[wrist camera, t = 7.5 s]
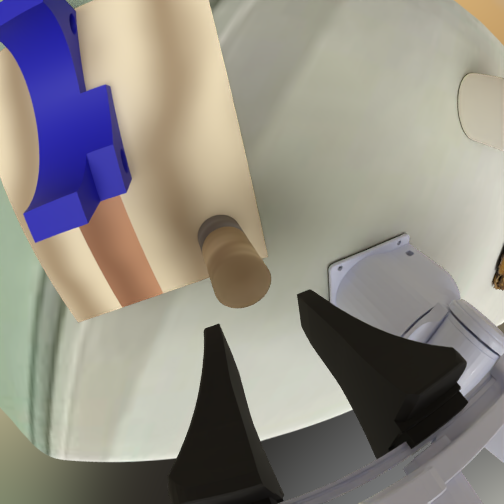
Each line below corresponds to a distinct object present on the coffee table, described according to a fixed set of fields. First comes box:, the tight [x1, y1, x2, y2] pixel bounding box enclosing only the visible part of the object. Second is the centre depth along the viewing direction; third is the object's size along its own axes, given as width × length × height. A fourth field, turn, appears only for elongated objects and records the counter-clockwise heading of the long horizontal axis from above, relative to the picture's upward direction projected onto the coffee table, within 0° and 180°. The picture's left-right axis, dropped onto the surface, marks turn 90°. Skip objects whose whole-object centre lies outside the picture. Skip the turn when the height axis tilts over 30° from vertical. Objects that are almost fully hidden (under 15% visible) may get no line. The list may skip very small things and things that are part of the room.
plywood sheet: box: [0, 0, 268, 322], centre depth 15 cm, size 16×21×1 cm
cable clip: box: [0, 0, 132, 243], centre depth 10 cm, size 12×4×6 cm, turn 8°
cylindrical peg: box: [198, 215, 271, 308], centre depth 17 cm, size 3×3×6 cm
